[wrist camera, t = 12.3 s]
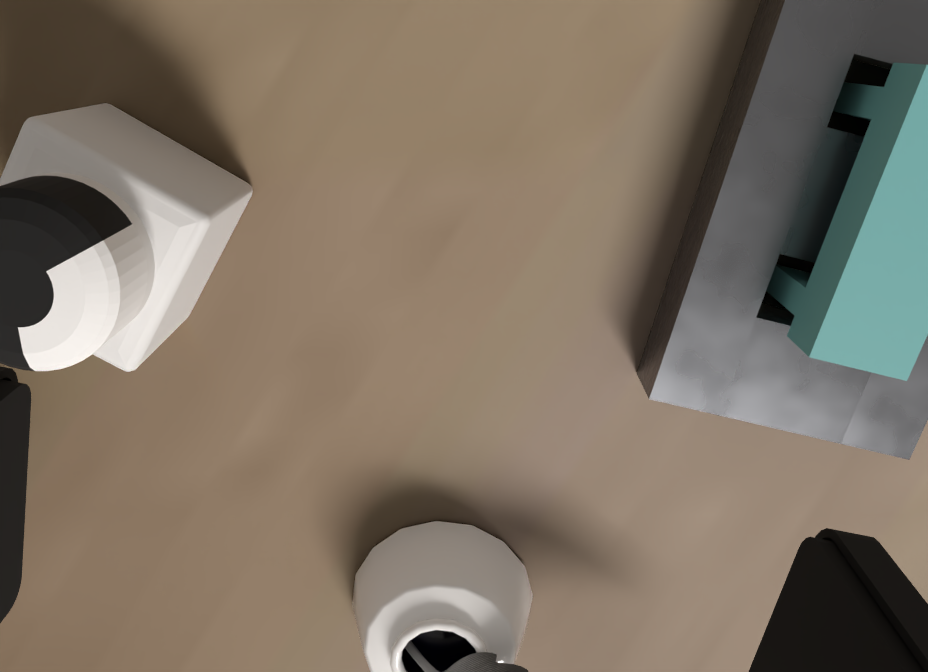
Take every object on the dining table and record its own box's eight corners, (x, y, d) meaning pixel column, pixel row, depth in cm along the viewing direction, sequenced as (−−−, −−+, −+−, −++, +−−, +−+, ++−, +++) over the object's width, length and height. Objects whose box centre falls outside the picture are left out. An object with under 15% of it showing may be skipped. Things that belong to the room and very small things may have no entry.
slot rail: (636, 373, 41) (649, 399, 38) (790, -89, 34) (819, -100, 32) (879, 430, 42) (909, 459, 39) (1073, -10, 35) (1125, -14, 32)
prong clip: (756, 307, 40) (808, 357, 33) (849, 59, 36) (926, 64, 30) (839, 327, 40) (907, 380, 34) (939, 84, 36) (1034, 94, 30)
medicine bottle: (42, 241, 39) (-136, 326, 28) (105, 98, 37) (-57, 127, 26) (188, 320, 40) (75, 433, 29) (257, 186, 38) (166, 250, 27)
